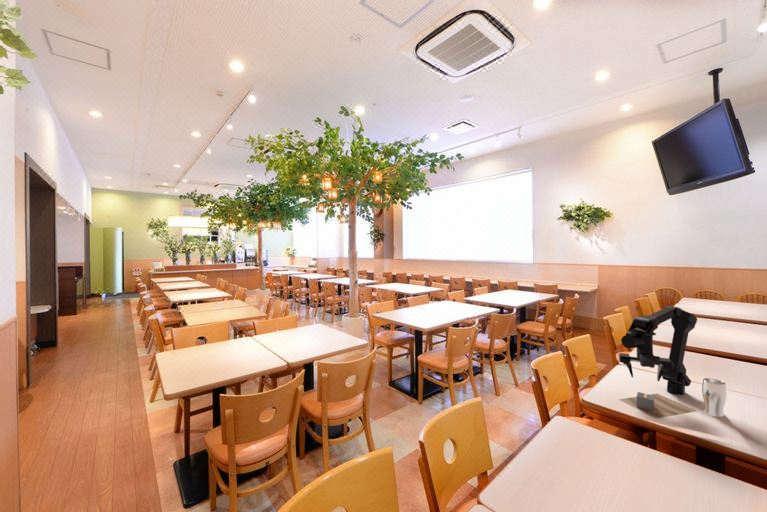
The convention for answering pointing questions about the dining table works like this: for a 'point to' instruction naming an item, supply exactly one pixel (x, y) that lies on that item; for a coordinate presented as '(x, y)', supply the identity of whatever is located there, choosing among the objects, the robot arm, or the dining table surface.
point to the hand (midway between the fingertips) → (645, 379)
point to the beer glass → (714, 396)
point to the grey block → (645, 401)
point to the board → (660, 406)
